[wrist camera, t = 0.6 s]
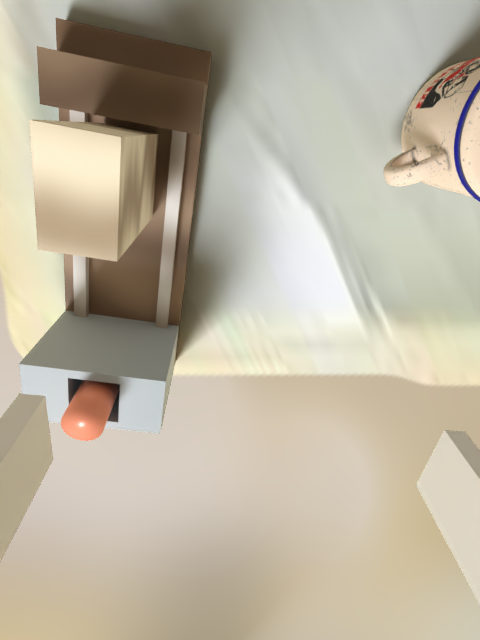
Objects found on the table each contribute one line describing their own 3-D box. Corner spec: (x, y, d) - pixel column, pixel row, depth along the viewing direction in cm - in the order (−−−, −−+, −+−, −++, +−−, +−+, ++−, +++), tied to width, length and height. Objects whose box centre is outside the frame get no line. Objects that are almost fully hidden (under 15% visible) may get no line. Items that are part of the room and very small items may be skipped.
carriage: (101, 122, 26) (29, 119, 17) (158, 133, 27) (121, 137, 17) (100, 208, 29) (38, 249, 19) (152, 217, 30) (117, 261, 20)
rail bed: (64, 23, 25) (34, 4, 21) (211, 56, 26) (209, 43, 22) (73, 349, 37) (54, 376, 33) (175, 362, 38) (169, 389, 34)
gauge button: (80, 370, 28) (59, 406, 24) (119, 375, 28) (104, 411, 25) (81, 400, 29) (61, 438, 26) (118, 404, 29) (103, 442, 26)
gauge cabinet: (69, 303, 35) (16, 363, 26) (180, 318, 36) (165, 381, 27) (70, 348, 37) (22, 419, 28) (175, 362, 38) (160, 433, 29)
